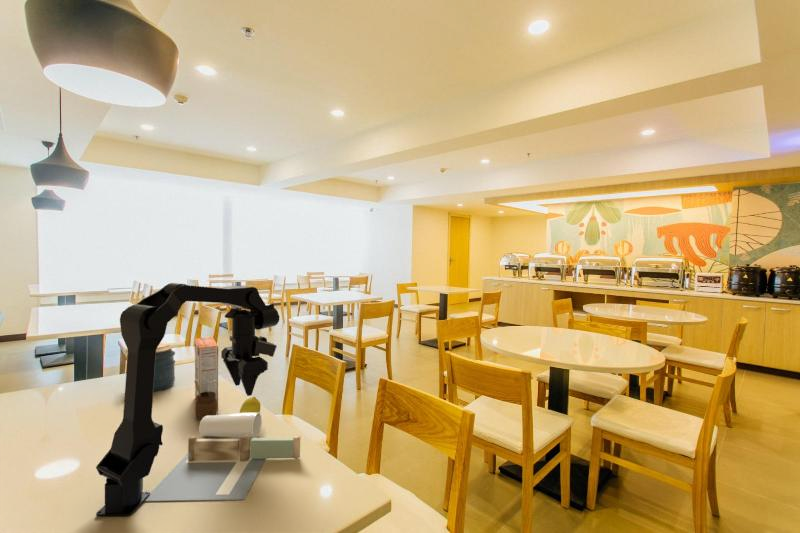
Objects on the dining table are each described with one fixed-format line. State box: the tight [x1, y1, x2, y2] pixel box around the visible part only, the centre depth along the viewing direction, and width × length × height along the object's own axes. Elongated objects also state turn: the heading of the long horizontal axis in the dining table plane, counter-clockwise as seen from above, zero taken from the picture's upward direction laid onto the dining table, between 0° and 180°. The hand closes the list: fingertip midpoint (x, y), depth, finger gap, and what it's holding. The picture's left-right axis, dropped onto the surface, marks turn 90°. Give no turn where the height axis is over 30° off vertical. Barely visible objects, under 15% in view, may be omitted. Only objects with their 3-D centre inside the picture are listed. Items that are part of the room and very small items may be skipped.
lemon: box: [239, 396, 262, 414], centre depth 109 cm, size 6×6×8 cm
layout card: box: [143, 453, 267, 503], centre depth 85 cm, size 19×20×1 cm
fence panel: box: [250, 435, 301, 460], centre depth 91 cm, size 12×2×5 cm, turn 94°
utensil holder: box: [194, 380, 218, 421], centre depth 113 cm, size 6×6×12 cm
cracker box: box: [194, 336, 219, 410], centre depth 123 cm, size 14×6×21 cm, turn 33°
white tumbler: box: [198, 412, 263, 440], centre depth 102 cm, size 7×7×15 cm
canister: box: [153, 342, 176, 392], centre depth 137 cm, size 13×13×18 cm
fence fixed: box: [187, 434, 251, 461], centre depth 90 cm, size 15×2×6 cm, turn 94°
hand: (243, 390), depth 99 cm, fingers open, 9 cm apart
